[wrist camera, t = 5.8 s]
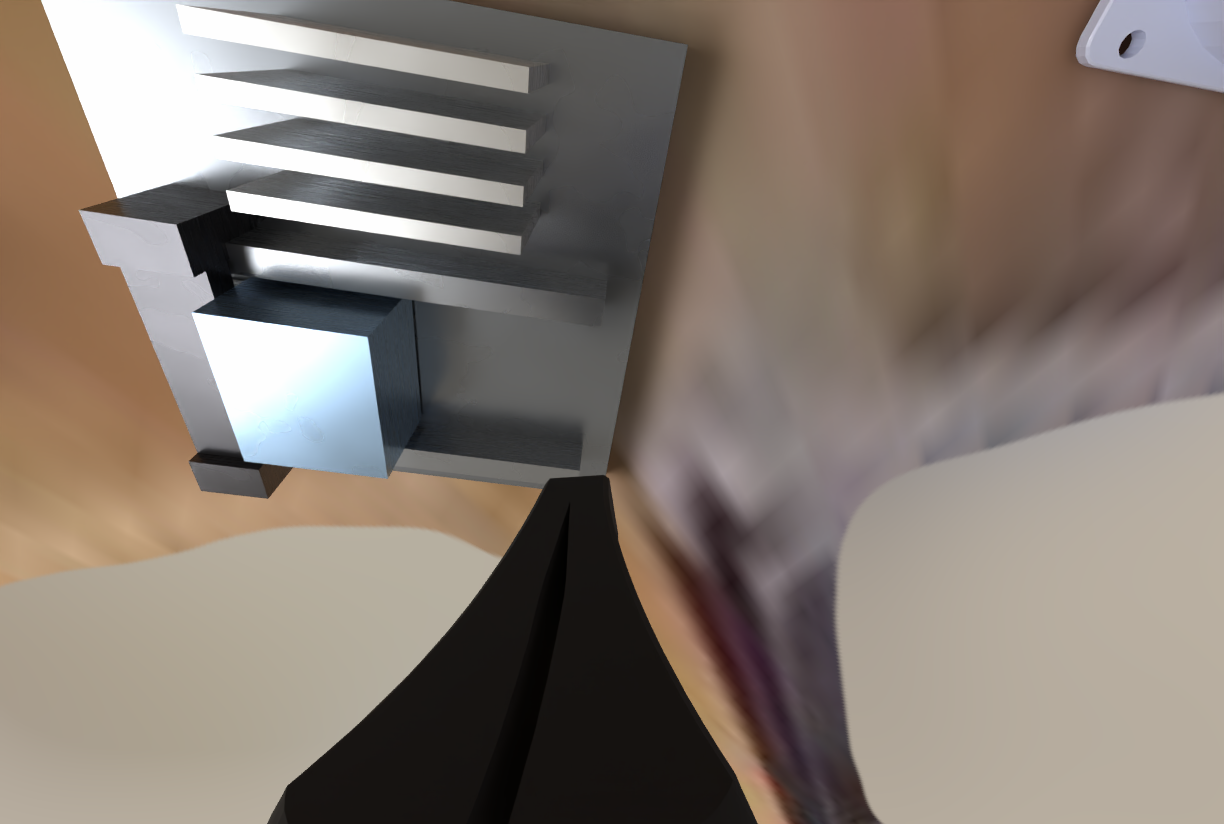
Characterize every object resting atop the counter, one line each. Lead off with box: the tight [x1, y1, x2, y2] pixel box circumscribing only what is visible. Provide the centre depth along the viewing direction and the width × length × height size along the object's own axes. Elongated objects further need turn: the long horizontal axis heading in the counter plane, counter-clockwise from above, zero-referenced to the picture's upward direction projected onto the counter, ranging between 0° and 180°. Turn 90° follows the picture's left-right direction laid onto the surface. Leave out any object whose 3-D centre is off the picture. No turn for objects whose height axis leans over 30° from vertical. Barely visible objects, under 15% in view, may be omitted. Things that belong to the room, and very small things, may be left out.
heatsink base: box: [41, 0, 688, 499], centre depth 14 cm, size 14×14×4 cm
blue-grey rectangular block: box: [192, 277, 421, 479], centre depth 14 cm, size 7×5×3 cm, turn 81°
